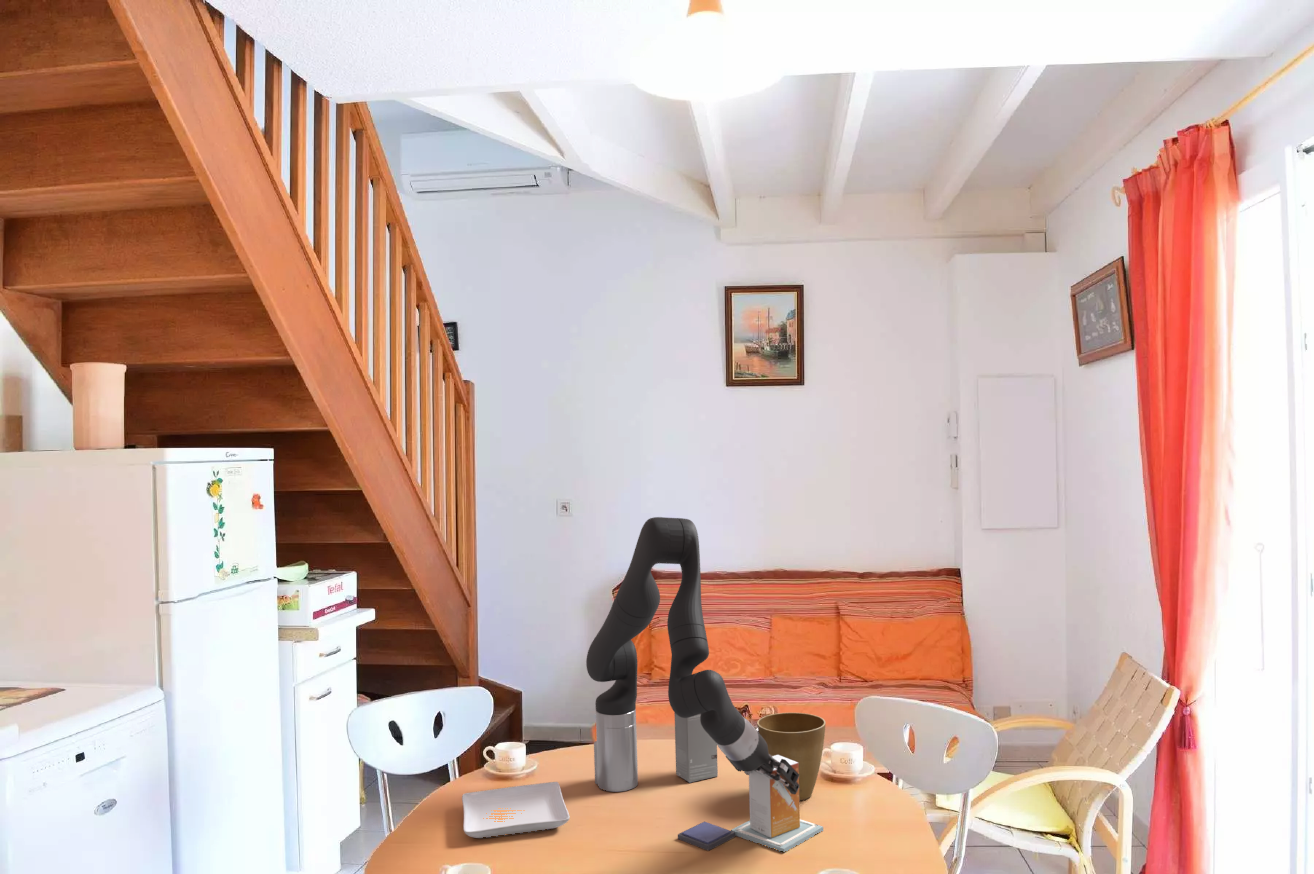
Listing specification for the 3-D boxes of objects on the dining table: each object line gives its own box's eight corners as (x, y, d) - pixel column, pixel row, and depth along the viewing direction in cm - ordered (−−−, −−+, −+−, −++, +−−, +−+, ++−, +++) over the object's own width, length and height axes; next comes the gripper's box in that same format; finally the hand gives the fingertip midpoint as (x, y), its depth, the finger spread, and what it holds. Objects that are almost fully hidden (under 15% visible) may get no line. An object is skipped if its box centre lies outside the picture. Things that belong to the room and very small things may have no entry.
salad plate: (464, 848, 177) (463, 830, 177) (462, 807, 197) (461, 791, 197) (571, 834, 182) (571, 817, 182) (558, 795, 202) (558, 780, 202)
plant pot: (820, 780, 206) (817, 710, 206) (834, 806, 191) (832, 730, 191) (755, 783, 205) (752, 712, 205) (764, 809, 190) (762, 733, 191)
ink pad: (677, 838, 177) (677, 832, 177) (704, 825, 183) (704, 819, 183) (708, 850, 172) (708, 844, 172) (735, 836, 177) (734, 830, 177)
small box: (771, 839, 174) (769, 771, 174) (749, 828, 179) (747, 762, 179) (801, 827, 179) (799, 761, 179) (779, 817, 184) (777, 753, 184)
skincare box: (688, 783, 206) (686, 714, 206) (673, 774, 212) (671, 706, 213) (720, 776, 210) (718, 708, 210) (704, 767, 216) (702, 701, 216)
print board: (730, 833, 179) (730, 828, 179) (770, 813, 188) (770, 808, 188) (784, 853, 170) (784, 847, 170) (823, 830, 179) (823, 825, 179)
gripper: (778, 731, 168) (815, 775, 176) (720, 717, 178) (757, 760, 186) (761, 767, 165) (800, 811, 173) (703, 751, 174) (742, 793, 183)
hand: (778, 784), depth 180 cm, fingers open, 8 cm apart
